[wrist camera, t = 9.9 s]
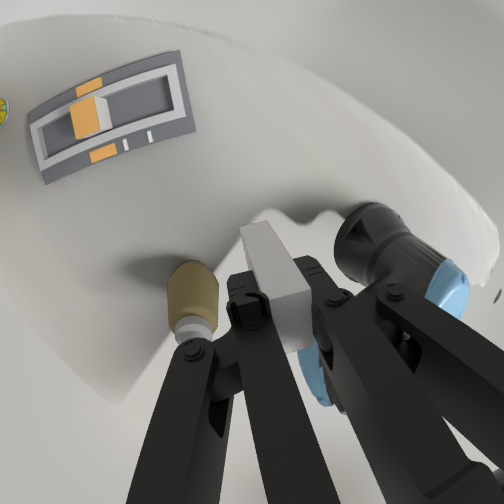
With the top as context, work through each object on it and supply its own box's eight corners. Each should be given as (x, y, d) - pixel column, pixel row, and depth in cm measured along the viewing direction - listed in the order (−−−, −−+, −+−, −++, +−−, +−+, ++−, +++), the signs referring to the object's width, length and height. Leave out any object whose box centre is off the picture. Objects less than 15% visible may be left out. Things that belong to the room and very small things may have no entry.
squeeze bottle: (160, 281, 43) (147, 365, 28) (185, 245, 41) (180, 323, 25) (200, 303, 47) (205, 387, 31) (227, 269, 45) (244, 351, 29)
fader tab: (106, 98, 27) (91, 95, 22) (112, 128, 29) (98, 129, 25) (86, 107, 27) (69, 106, 22) (92, 136, 29) (76, 139, 24)
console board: (180, 53, 28) (178, 47, 25) (196, 131, 34) (195, 131, 31) (35, 113, 26) (23, 113, 23) (51, 182, 32) (40, 187, 29)
